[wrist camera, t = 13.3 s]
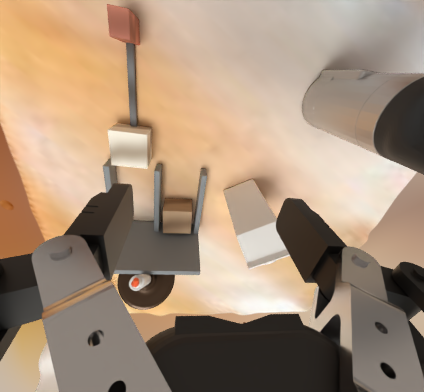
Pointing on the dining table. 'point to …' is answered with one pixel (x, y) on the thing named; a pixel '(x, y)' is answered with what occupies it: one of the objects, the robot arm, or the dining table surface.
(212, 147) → the dining table surface
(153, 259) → the lane rack
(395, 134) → the robot arm
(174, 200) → the walnut block
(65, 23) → the dining table surface
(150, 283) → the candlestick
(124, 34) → the corded block
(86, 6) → the dining table surface
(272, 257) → the milk carton
